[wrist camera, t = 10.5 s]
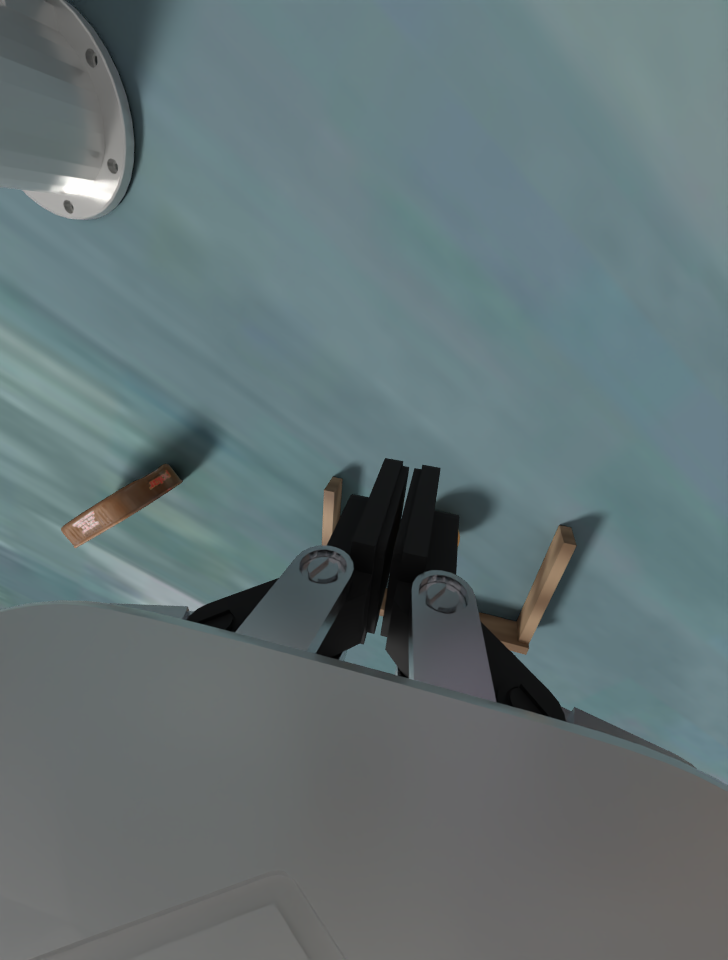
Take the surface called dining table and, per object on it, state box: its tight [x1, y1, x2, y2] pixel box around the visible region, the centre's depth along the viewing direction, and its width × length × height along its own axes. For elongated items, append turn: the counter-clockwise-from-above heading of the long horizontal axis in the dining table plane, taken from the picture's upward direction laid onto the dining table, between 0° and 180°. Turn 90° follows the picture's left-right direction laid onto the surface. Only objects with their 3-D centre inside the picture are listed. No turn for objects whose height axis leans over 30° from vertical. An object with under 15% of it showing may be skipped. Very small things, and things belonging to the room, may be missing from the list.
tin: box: [61, 464, 183, 548], centre depth 42 cm, size 15×3×8 cm, turn 123°
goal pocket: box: [322, 477, 577, 655], centre depth 39 cm, size 14×22×3 cm, turn 85°
